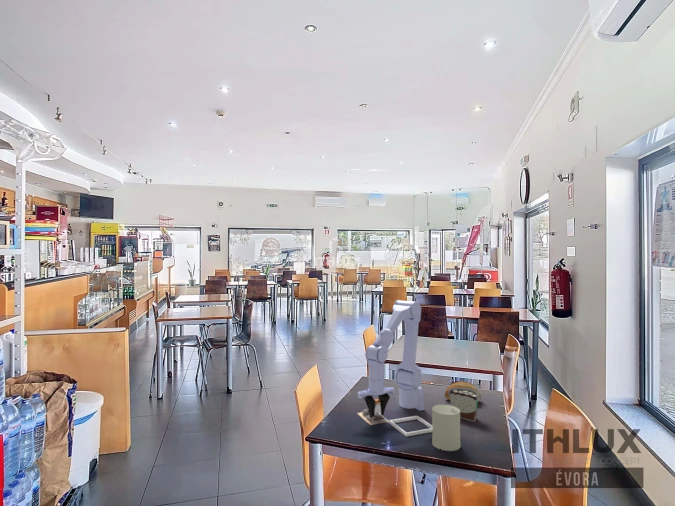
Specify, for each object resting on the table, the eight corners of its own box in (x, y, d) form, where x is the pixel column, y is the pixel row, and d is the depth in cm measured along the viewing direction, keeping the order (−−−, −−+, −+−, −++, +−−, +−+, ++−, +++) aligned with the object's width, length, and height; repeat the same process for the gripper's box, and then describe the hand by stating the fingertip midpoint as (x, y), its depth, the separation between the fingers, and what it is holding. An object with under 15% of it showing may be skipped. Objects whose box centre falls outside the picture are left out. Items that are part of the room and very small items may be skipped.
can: (456, 453, 127) (456, 415, 128) (427, 446, 132) (427, 409, 132) (464, 442, 135) (463, 406, 135) (437, 436, 140) (436, 401, 140)
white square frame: (417, 422, 152) (417, 415, 152) (436, 435, 141) (436, 428, 141) (388, 427, 147) (388, 420, 147) (406, 441, 136) (406, 433, 136)
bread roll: (443, 396, 181) (443, 378, 181) (478, 397, 179) (478, 379, 179) (445, 403, 172) (445, 384, 172) (482, 405, 169) (482, 386, 169)
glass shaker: (378, 417, 153) (378, 398, 153) (383, 420, 149) (383, 401, 149) (369, 418, 151) (369, 399, 151) (374, 422, 148) (374, 403, 148)
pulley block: (375, 414, 160) (375, 405, 160) (390, 425, 149) (390, 416, 149) (356, 417, 157) (356, 408, 157) (370, 429, 146) (370, 419, 146)
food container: (485, 418, 156) (485, 392, 156) (478, 423, 151) (478, 396, 151) (455, 410, 164) (455, 385, 164) (448, 414, 159) (448, 388, 160)
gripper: (388, 373, 157) (388, 408, 156) (354, 377, 151) (354, 414, 151) (397, 378, 150) (397, 415, 150) (362, 382, 145) (362, 421, 145)
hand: (376, 415), depth 150 cm, fingers closed on glass shaker, 4 cm apart
